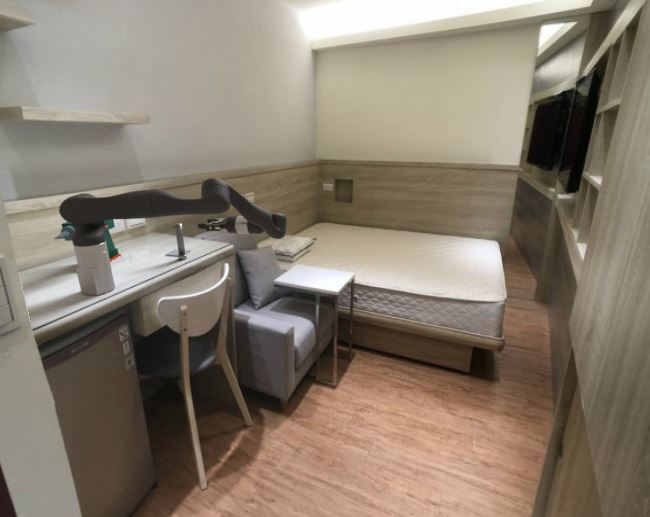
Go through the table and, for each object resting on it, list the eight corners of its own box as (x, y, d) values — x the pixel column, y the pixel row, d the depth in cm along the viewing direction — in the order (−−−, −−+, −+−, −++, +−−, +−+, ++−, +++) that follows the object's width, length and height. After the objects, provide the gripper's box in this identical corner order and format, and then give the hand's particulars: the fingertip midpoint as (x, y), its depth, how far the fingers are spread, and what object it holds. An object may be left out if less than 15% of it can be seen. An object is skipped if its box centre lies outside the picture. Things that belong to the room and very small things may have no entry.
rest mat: (181, 256, 157) (181, 255, 157) (165, 255, 158) (165, 254, 158) (190, 251, 165) (190, 250, 164) (174, 250, 166) (174, 249, 165)
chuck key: (182, 261, 150) (177, 225, 145) (174, 261, 151) (169, 225, 146) (190, 256, 157) (186, 221, 152) (183, 256, 158) (178, 221, 152)
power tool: (74, 283, 127) (61, 230, 120) (55, 283, 127) (41, 230, 120) (122, 256, 157) (114, 212, 150) (106, 255, 157) (97, 212, 150)
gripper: (244, 212, 151) (209, 211, 153) (232, 219, 137) (193, 218, 139) (246, 229, 153) (211, 228, 155) (233, 237, 140) (196, 236, 142)
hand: (203, 223), depth 147 cm, fingers open, 8 cm apart
